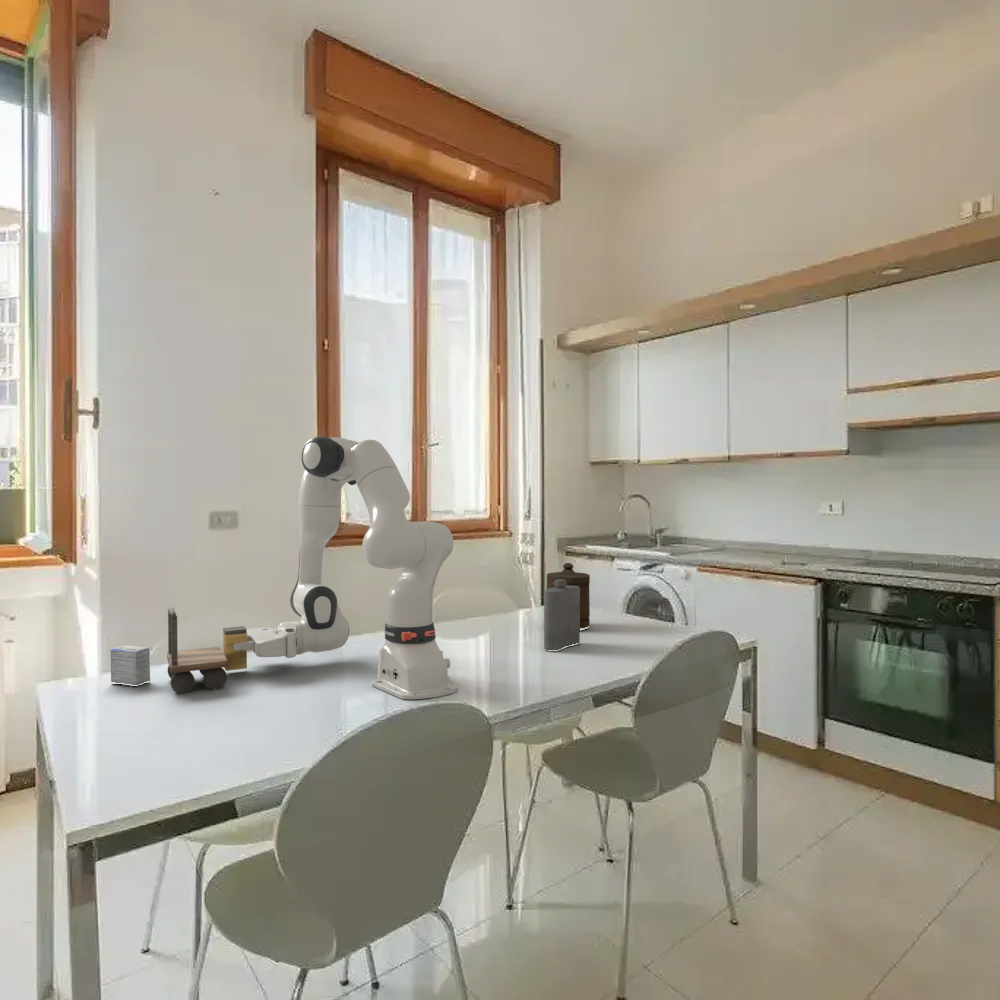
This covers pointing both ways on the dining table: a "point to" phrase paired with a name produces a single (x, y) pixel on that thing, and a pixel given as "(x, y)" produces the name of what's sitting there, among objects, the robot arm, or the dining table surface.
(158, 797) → the dining table surface
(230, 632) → the chock block
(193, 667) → the trolley
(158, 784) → the dining table surface
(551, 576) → the wooden container
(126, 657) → the grey wood-grain block
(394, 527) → the robot arm
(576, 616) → the flask
